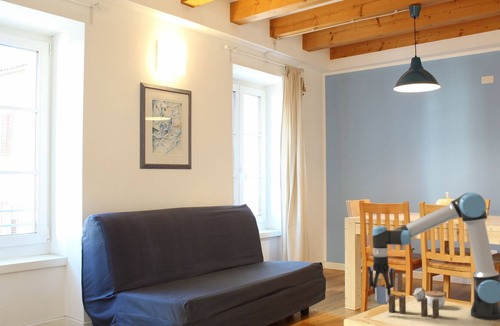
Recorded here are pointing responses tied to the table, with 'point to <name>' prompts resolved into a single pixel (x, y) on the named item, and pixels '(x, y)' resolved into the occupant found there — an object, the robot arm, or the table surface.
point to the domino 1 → (381, 295)
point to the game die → (419, 293)
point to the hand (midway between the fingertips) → (382, 300)
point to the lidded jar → (435, 297)
